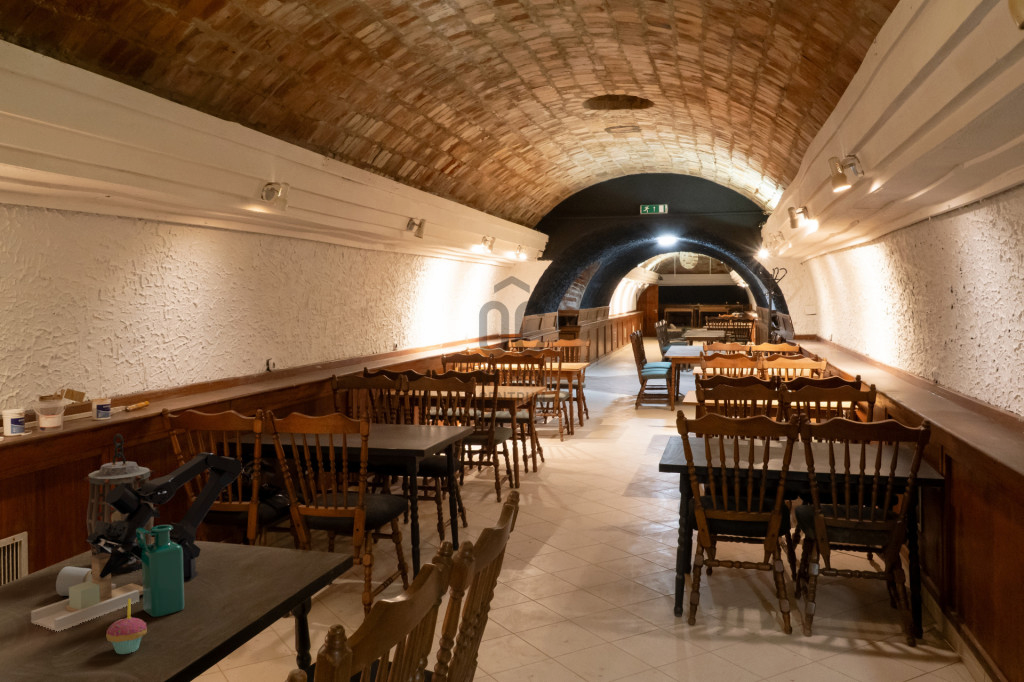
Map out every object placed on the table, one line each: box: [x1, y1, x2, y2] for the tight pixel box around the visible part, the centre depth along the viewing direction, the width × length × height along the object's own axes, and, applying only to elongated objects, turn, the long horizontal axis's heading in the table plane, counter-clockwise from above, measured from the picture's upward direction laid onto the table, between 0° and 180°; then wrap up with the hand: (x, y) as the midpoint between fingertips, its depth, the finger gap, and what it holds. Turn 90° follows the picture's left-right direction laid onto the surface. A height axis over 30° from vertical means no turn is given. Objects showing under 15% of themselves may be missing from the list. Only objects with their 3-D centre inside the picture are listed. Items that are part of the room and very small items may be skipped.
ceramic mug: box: [55, 565, 92, 597], centre depth 220 cm, size 11×8×8 cm
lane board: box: [30, 583, 140, 633], centre depth 207 cm, size 22×11×3 cm, turn 150°
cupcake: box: [105, 595, 148, 655], centre depth 185 cm, size 9×8×12 cm
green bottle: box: [136, 524, 185, 618], centre depth 207 cm, size 10×8×22 cm
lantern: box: [82, 433, 156, 575], centre depth 242 cm, size 19×19×40 cm
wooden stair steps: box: [66, 553, 143, 612], centre depth 212 cm, size 18×8×13 cm, turn 150°
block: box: [68, 581, 100, 610], centre depth 206 cm, size 5×5×5 cm
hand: (96, 576), depth 209 cm, fingers closed on wooden stair steps, 3 cm apart
